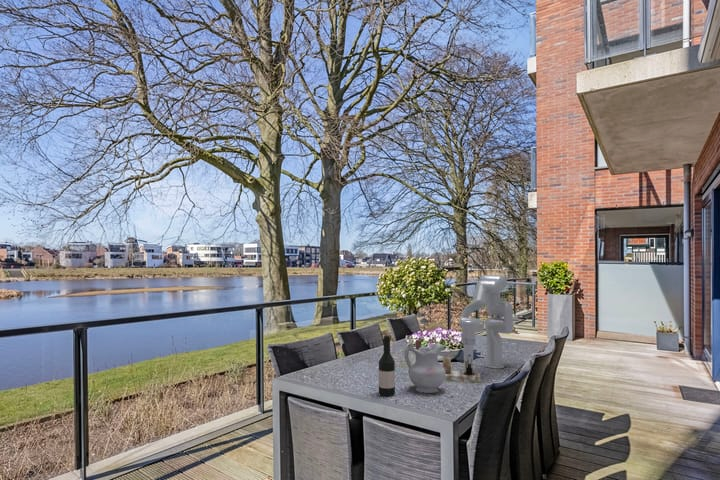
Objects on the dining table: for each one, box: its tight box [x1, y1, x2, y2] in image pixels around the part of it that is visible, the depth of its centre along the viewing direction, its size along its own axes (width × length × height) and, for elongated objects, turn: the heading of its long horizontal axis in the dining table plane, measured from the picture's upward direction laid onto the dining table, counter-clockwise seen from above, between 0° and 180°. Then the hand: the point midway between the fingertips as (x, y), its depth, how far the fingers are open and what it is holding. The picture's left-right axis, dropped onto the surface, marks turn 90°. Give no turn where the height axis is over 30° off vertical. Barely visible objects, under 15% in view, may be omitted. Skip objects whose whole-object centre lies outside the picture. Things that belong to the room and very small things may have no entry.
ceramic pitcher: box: [404, 342, 445, 394], centre depth 227 cm, size 22×20×25 cm
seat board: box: [442, 356, 482, 383], centre depth 249 cm, size 24×12×12 cm, turn 80°
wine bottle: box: [378, 334, 396, 398], centre depth 220 cm, size 8×8×30 cm
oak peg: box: [464, 361, 474, 375], centre depth 248 cm, size 5×5×12 cm
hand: (468, 372), depth 248 cm, fingers closed on oak peg, 4 cm apart
